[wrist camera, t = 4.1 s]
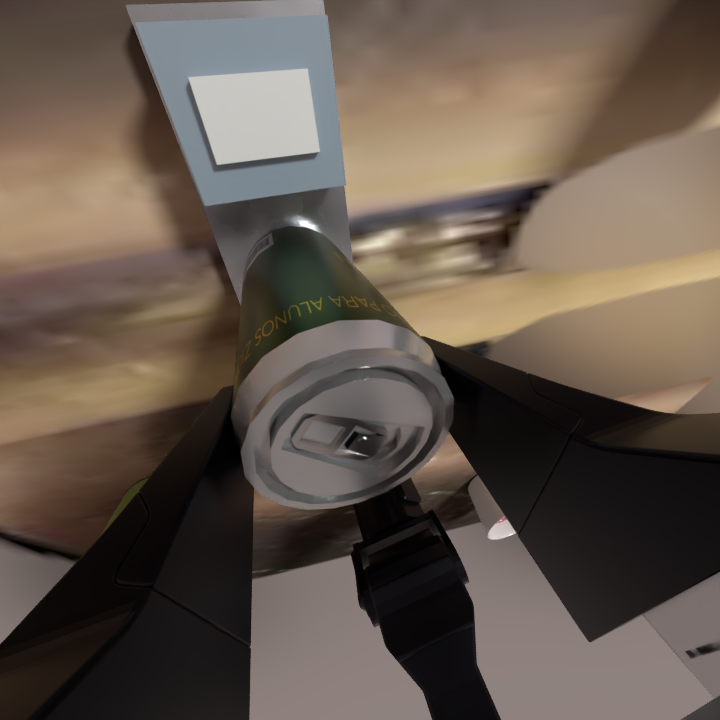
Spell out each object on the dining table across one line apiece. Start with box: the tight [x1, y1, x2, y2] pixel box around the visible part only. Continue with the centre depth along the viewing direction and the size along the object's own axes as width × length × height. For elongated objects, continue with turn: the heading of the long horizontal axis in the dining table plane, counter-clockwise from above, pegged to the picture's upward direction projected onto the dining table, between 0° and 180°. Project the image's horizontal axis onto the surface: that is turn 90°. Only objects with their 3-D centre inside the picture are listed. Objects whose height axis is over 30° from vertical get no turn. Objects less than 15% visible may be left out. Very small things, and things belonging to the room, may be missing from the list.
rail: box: [126, 0, 353, 305], centre depth 17 cm, size 20×7×1 cm, turn 6°
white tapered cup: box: [468, 475, 516, 540], centre depth 40 cm, size 9×9×6 cm
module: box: [136, 15, 346, 206], centre depth 12 cm, size 5×6×3 cm
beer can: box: [231, 226, 454, 510], centre depth 11 cm, size 5×5×12 cm
